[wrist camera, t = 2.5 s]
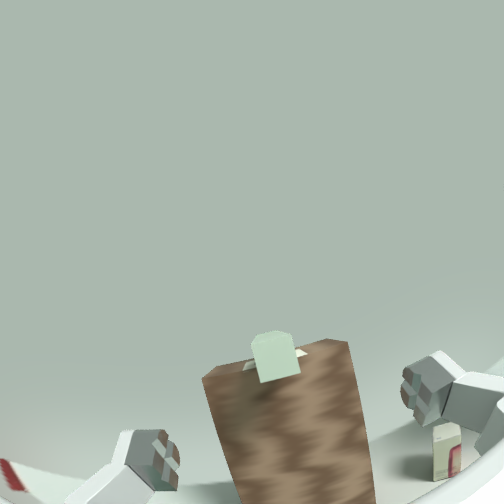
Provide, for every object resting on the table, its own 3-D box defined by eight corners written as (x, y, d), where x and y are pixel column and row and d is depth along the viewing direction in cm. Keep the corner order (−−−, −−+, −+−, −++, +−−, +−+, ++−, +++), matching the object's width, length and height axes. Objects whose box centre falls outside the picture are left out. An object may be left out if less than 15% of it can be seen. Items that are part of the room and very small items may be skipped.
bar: (281, 349, 40) (276, 330, 41) (300, 372, 19) (291, 334, 20) (261, 353, 40) (256, 334, 41) (260, 383, 19) (250, 344, 19)
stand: (356, 480, 30) (326, 338, 37) (376, 510, 21) (347, 341, 28) (259, 505, 30) (216, 365, 37) (258, 541, 20) (201, 378, 27)
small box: (460, 475, 19) (462, 434, 21) (432, 482, 21) (432, 443, 23) (459, 457, 23) (459, 417, 25) (433, 464, 25) (432, 426, 27)
